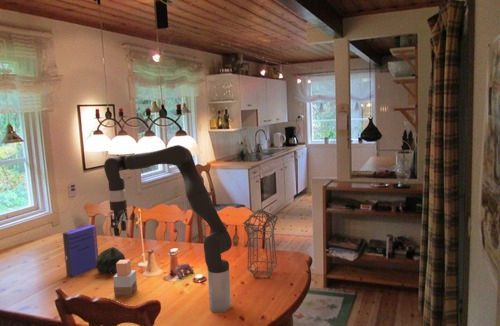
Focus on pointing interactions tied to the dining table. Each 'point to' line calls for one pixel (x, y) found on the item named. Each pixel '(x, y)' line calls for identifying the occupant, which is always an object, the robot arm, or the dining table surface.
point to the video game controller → (184, 268)
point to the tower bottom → (125, 291)
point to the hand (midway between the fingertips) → (120, 233)
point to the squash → (109, 260)
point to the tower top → (125, 280)
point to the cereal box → (80, 250)
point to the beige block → (123, 267)
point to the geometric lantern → (261, 238)
